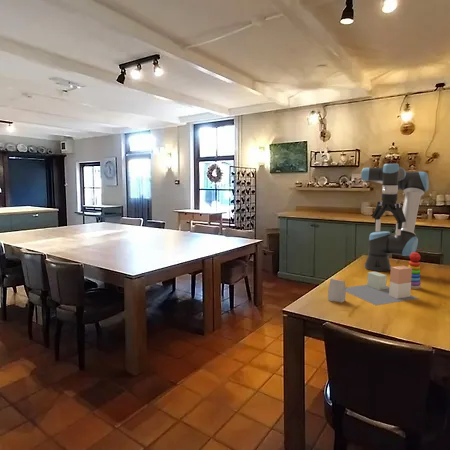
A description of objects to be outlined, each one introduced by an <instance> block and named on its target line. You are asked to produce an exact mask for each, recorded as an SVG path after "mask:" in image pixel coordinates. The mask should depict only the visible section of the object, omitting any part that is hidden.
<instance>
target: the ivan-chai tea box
mask: <svg viewBox="0 0 450 450" xmlns="http://www.w3.org/2000/svg"><path fill="white" fill-rule="evenodd" d="M346 293H347V292H346V281H345V280H341V279H336V278H335V279H334V278H330V279H329V284H328V293H327V301H330V302H335V303H336V302H338V303H344V302H345V301H346V296H347V295H346Z"/></svg>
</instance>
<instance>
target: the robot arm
mask: <svg viewBox="0 0 450 450" xmlns="http://www.w3.org/2000/svg"><path fill="white" fill-rule="evenodd" d="M360 175H361V176H360V177H361V180H362V181H365V182H374V183H378V184H381V185H382V186H381V189H382V190H381V192H382V194H381V201H377V203H376V207H375V209H374V212H373V213H372V219H374V225H375V231H373V232H371V233H370V234H369V238H368V251H367V252H368V254H367V258H366V261H365V263H364V268H365V269H366V270H370V271H372V272H389V271H390V272H391V267H392V265H391V262H390V258H389V254H390V255H397V256H403V257H410V254H411V253H413V252H417V248H418V245H419V244H418V243H419V239H418V237H417V234H416V233H415V228H416V227H415V226H416V223H417V222H416V221H417V217H418V211H419V206H420V202H421V198H422V196H424V195H425V193H426V192H428V191H429V188H430V180H429V179H430V177H429V175H428V173H427V172H426V171H419V170H418V171H406V170H405V168H403V167H401V166H400V164H399V163H384V164H383V166H382V167H369V166H368V167H363V168H362V170H361V172H360ZM399 191H403V193H404V194H405V195H404V199H403V204H402V203H397V201H398V194H397V193H398V192H399ZM386 212H390V213H391V214H392V215H393V218H394V219H395V220H396V223H395V231H394V234H391V232H390V231H384V230H383V231H381V223H382V219H381V217H382V216H383V215H384V213H386Z"/></svg>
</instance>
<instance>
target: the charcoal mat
mask: <svg viewBox="0 0 450 450" xmlns="http://www.w3.org/2000/svg"><path fill="white" fill-rule="evenodd" d="M345 288H346V293H348V294H350V295H352V296H354V297H357V298H358V299H361V300H363V301H365V302H368V303H370V304H371V305H375V306H380V305H386V304H394V303H400V302H406V301H412V300H419V299H420V298H419V297H417V296H414V295H411V294H410V297H404V298H398V299H397V298H395V297H392V296H390V295H389V289H390V286H387V285H386V289H381V290H378V289H375V288H372V287H370V286H367V284H362V285H353V286H348V287H346V286H345Z"/></svg>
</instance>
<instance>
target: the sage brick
mask: <svg viewBox="0 0 450 450" xmlns="http://www.w3.org/2000/svg"><path fill="white" fill-rule="evenodd" d="M387 279H388V275H387V274H383V273H381V272H379V271H369V272H368V271H367V279H366V281H367V282H366V285H367V286H370V287H372V288H375V289H378V290H381V289H386V286H387Z"/></svg>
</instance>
